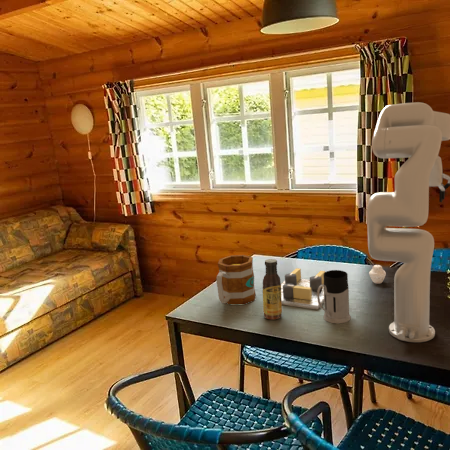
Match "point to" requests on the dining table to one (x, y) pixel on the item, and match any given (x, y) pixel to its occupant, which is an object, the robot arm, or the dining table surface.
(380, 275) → the white carved ornament
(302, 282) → the base plate
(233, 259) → the mug
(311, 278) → the knob right
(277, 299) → the sauce bottle
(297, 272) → the knob left
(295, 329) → the dining table surface
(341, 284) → the glass holder
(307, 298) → the knob front
